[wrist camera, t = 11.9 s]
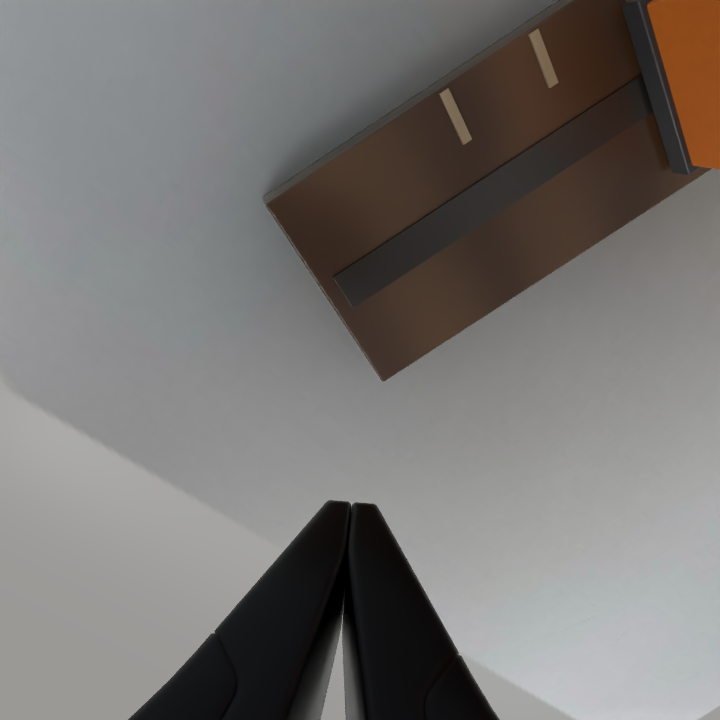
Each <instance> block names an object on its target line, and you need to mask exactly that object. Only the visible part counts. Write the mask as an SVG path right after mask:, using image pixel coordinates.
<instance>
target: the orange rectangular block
mask: <svg viewBox="0 0 720 720" xmlns="http://www.w3.org/2000/svg"><path fill="white" fill-rule="evenodd" d="M622 10H623V13H624V16H625V20H626V23H627V26H628V30H629V33H630V36H631V39H632V43H633V46H634V49H635V52H636V56H637V59H638V62H639V66H640V69H641V72H642V75H643V79H644V82H645V85H646V88H647V92H648V95H649V98H650V102H651V105H652V108H653V111H654V115H655V118H656V121H657V124H658V128H659V131H660V134H661V138H662V141H663V144H664V147H665V151H666V154H667V157H668V160H669V164H670V167H671V170H672V172H673V173H677V174H684V175H690V174H692V173H693V172H695V171H696V170H698V169H699V168H701V167H706V168H714V169H720V0H629V1H627V2H626V3H624V4H623V5H622Z"/></svg>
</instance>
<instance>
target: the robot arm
mask: <svg viewBox="0 0 720 720" xmlns="http://www.w3.org/2000/svg"><path fill="white" fill-rule="evenodd" d="M343 605H344V607H343ZM342 615H343V625H342V643H343V665H344V666H343V667H344V688H345V689H344V690H345V714H346V720H499V718H498V717H497V715H496V714H495V712H494V711H493V709H492V708H491V706H490V704H489V703H488V701H487V699H486V698H485V696H484V694H483V693H482V691H481V690H480V688H479V687H478V684H477V683H476V681H475V679H474V678H473V676H472V674H471V673H470V671H469V669H468V667H467V665H466V663H465V662H464V660H463V658H462V656H460V655H459V653H458V650H457V649H456V647H455V645H454V643H453V641H452V640H451V638H450V636H449V634H448V632H447V631H446V629H445V627H444V625H443V623H442V622H441V620H440V618H439V616H438V614H437V613H436V611H435V609H434V607H433V605H432V604H431V602H430V600H429V598H428V596H427V595H426V593H425V591H424V589H423V587H422V586H421V584H420V582H419V580H418V579H417V577H416V575H415V573H414V571H413V570H412V568H411V566H410V564H409V562H408V561H407V559H406V557H405V555H404V553H403V552H402V550H401V548H400V546H399V544H398V543H397V541H396V539H395V537H394V535H393V534H392V532H391V530H390V528H389V526H388V525H387V523H386V521H385V519H384V517H383V516H382V514H381V512H380V510H379V509H378V507H377V506H376V505H375V504H369V503H357V502H356V503H354V504H353V505H352V509H351V504H350V503H349V502H345V501H333V500H329V501H327V502H326V503H325V504H324V505H323V507H322V508H321V509H320V510H319V511H318V512H317V513H316V515H315V516H314V517H313V518H312V519H311V520H310V522H309V523H308V524H307V525H306V526H305V527H304V528H303V530H302V531H301V532H300V533H299V534H298V535H297V536H296V538H295V539H294V540H293V541H292V542H291V543H290V545H289V546H288V547H287V548H286V549H285V550H284V551H283V553H282V554H281V555H280V556H279V557H278V558H277V560H276V561H275V562H274V563H273V564H272V565H271V566H270V568H269V569H268V570H267V571H266V573H264V575H263V576H262V577H261V578H260V579H259V580H258V582H257V583H256V584H255V585H254V586H253V587H252V588H251V590H250V591H249V592H248V593H247V594H246V595H245V596H244V598H243V599H242V600H241V601H240V602H239V603H238V604H237V606H236V607H235V608H234V609H233V610H232V611H231V613H230V614H229V615H228V616H227V617H226V618H225V620H224V621H223V622H222V623H221V624H220V625H219V626H218V628H217V629H216V630H215V634H214V633H213V634H211V635H210V636H209V637H208V638H207V639H206V641H205V642H204V643H203V644H202V645H201V646H200V647H199V648H198V650H197V651H196V652H195V653H194V654H193V655H192V656H191V657H190V658H189V660H188V661H187V662H186V663H185V664H184V665H183V666H182V667H181V668H180V669H179V670H178V671H177V673H176V674H175V675H174V676H173V677H172V678H171V679H170V680H169V681H168V682H167V683H166V684H165V685H164V686H163V687H162V688H161V689H160V690H159V691H158V692H157V693H156V694H155V695H153V697H151V698H150V699H149V701H147V702H146V703H145V704H144V705H143V706H142V707H141V708H140V709H139V710H138V711H137V712H136V713H135V714H134V715H133V716H131V717H130V718H129V719H128V720H321V715H322V710H323V706H324V702H325V698H326V693H327V689H328V684H329V680H330V675H331V671H332V667H333V662H334V657H335V654H336V649H337V644H338V640H339V635H340V630H341V623H342Z"/></svg>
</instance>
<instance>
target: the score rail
mask: <svg viewBox="0 0 720 720" xmlns="http://www.w3.org/2000/svg"><path fill="white" fill-rule="evenodd" d="M627 1H629V0H559V1H557V2H556V3H554V4H553V5H551V6H550V7H548V8H547V9H545V10H544V11H542V12H541V13H539V14H537V15H536V16H534V17H533V18H531V19H530V20H528V21H527V22H525V23H524V24H522V25H521V26H519V27H518V28H516V29H515V30H513V31H512V32H510V33H509V34H507V35H506V36H504V37H503V38H501V39H500V40H498V41H497V42H495V43H494V44H492V45H491V46H489V47H488V48H486V49H485V50H483V51H482V52H480V53H479V54H477V55H476V56H474V57H473V58H471V59H470V60H468V61H467V62H465V63H464V64H462V65H461V66H459V67H458V68H456V69H455V70H453V71H452V72H450V73H449V74H447V75H446V76H444V77H443V78H441V79H440V80H438V81H437V82H435V83H434V84H432V85H431V86H429V87H428V88H426V89H425V90H423V91H422V92H420V93H419V94H417V95H416V96H414V97H413V98H411V99H410V100H408V101H407V102H405V103H403V104H402V105H400V106H399V107H397V108H396V109H394V110H393V111H391V112H390V113H388V114H387V115H385V116H384V117H382V118H381V119H379V120H378V121H376V122H375V123H373V124H372V125H370V126H369V127H367V128H366V129H364V130H363V131H361V132H360V133H358V134H357V135H355V136H354V137H352V138H351V139H349V140H348V141H346V142H345V143H343V144H342V145H340V146H339V147H337V148H336V149H334V150H333V151H331V152H330V153H328V154H327V155H325V156H324V157H322V158H321V159H319V160H318V161H316V162H315V163H313V164H312V165H310V166H309V167H307V168H306V169H304V170H303V171H301V172H300V173H298V174H297V175H295V176H294V177H292V178H291V179H289V180H288V181H286V182H285V183H283V184H282V185H280V186H279V187H277V188H276V189H274V190H273V191H271V192H270V193H268V194H266V195H265V196H264V197H263V201H264V203H265V205H266V207H267V208H268V210H269V211H270V213H271V214H272V216H273V217H274V219H275V220H276V222H277V223H278V225H279V226H280V228H281V229H282V231H283V232H284V234H285V235H286V237H287V238H288V240H289V241H290V243H291V244H292V246H293V247H294V249H295V250H296V252H297V253H298V255H299V257H300V258H301V260H302V261H303V263H304V264H305V266H306V267H307V269H308V270H309V272H310V273H311V275H312V276H313V278H314V279H315V281H316V282H317V284H318V285H319V287H320V288H321V290H322V291H323V293H324V294H325V296H326V297H327V299H328V300H329V302H330V303H331V305H332V306H333V308H334V309H335V311H336V312H337V314H338V315H339V317H340V318H341V320H342V321H343V323H344V324H345V326H346V327H347V329H348V330H349V332H350V333H351V335H352V336H353V338H354V339H355V341H356V342H357V344H358V345H359V347H360V348H361V350H362V351H363V353H364V355H365V356H366V358H367V359H368V361H369V362H370V364H371V365H372V367H373V368H374V370H375V371H376V373H377V374H378V376H379V377H380V379H381V380H382V381H385V380H387V379H388V378H390V377H392V376H393V375H395V374H396V373H398V372H399V371H401V370H402V369H404V368H405V367H407V366H409V365H410V364H412V363H413V362H415V361H416V360H418V359H419V358H421V357H422V356H424V355H425V354H427V353H429V352H430V351H432V350H433V349H435V348H436V347H438V346H439V345H441V344H442V343H444V342H445V341H447V340H449V339H450V338H452V337H453V336H455V335H456V334H458V333H459V332H461V331H462V330H464V329H465V328H467V327H469V326H470V325H472V324H473V323H475V322H476V321H478V320H479V319H481V318H482V317H484V316H486V315H487V314H489V313H490V312H492V311H493V310H495V309H496V308H498V307H499V306H501V305H502V304H504V303H506V302H507V301H509V300H510V299H512V298H513V297H515V296H516V295H518V294H519V293H521V292H522V291H524V290H526V289H527V288H529V287H530V286H532V285H533V284H535V283H536V282H538V281H539V280H541V279H542V278H544V277H546V276H547V275H549V274H550V273H552V272H553V271H555V270H556V269H558V268H559V267H561V266H563V265H564V264H566V263H567V262H569V261H570V260H572V259H573V258H575V257H576V256H578V255H579V254H581V253H583V252H584V251H586V250H587V249H589V248H590V247H592V246H593V245H595V244H596V243H598V242H599V241H601V240H603V239H604V238H606V237H607V236H609V235H610V234H612V233H613V232H615V231H616V230H618V229H619V228H621V227H623V226H624V225H626V224H627V223H629V222H630V221H632V220H633V219H635V218H636V217H638V216H640V215H641V214H643V213H644V212H646V211H647V210H649V209H650V208H652V207H653V206H655V205H656V204H658V203H660V202H661V201H663V200H664V199H666V198H667V197H669V196H670V195H672V194H673V193H675V192H676V191H678V190H680V189H681V188H683V187H684V186H686V185H687V184H689V183H690V182H692V181H693V180H695V179H696V178H698V177H700V176H701V175H703V174H704V173H706V172H707V171H709V170H710V169H712V168H706V167H701V168H699V169H698V170H696V171H695V172H693V173H692V174H690V175H684V174H677V173H673V172H672V170H671V167H670V164H669V160H668V157H667V154H666V151H665V147H664V144H663V141H662V138H661V134H660V131H659V128H658V124H657V121H656V118H655V115H654V111H653V108H652V105H651V102H650V98H649V95H648V92H647V88H646V85H645V82H644V79H643V75H642V72H641V69H640V66H639V62H638V59H637V56H636V52H635V49H634V46H633V43H632V39H631V36H630V33H629V30H628V26H627V23H626V20H625V16H624V13H623V10H622V5H623V4H624V3H626V2H627Z"/></svg>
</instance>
